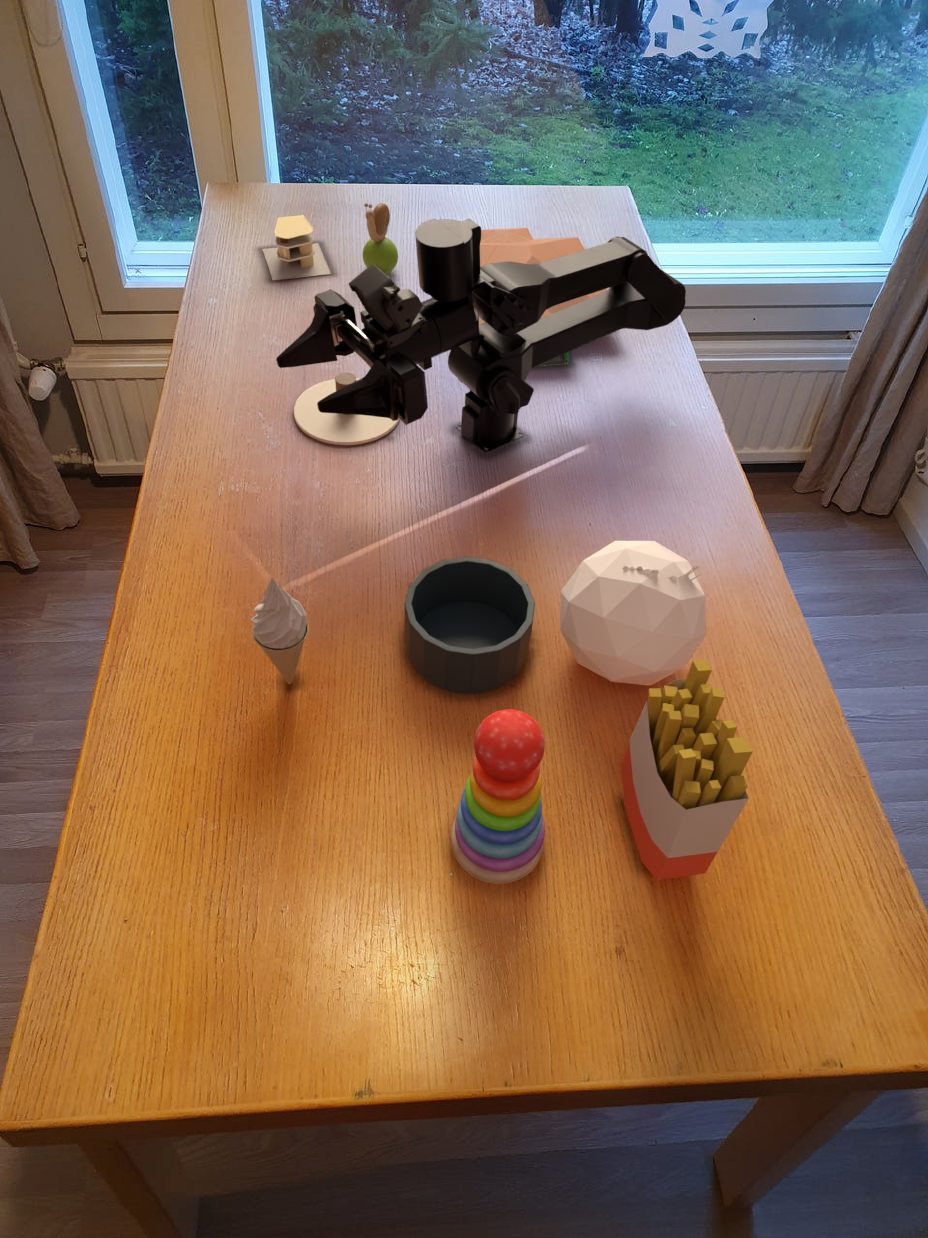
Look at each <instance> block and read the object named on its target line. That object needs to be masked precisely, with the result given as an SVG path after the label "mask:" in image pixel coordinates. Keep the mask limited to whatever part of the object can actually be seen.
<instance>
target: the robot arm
mask: <svg viewBox="0 0 928 1238" xmlns="http://www.w3.org/2000/svg"><path fill="white" fill-rule="evenodd" d="M481 230H482V227H481V226H480V225H479V224H478V223H476V222H475V221H473V220H472V219H471V218H467V219H464V220H462V221H461V220H456V219H451V218H442V219H437V218H431V219H427V220H425V221H424V222H422V223H420V225H418V226H417V228H416V229H415V232H414V235H415V246H416V258H417V269H418V270H417V273H418V283H419V284H418V285H419V288H420V289H421V291H422V292H424V293H425V294H426V295H428V296H430V297H431V298H429V299H426V300H423V301H421V299H420V298H419V296H418V295H417V294H416V293H415V292H413V291H412V290H411V289H410V288H405V289H401V288H400V286H399V285H397V284H396V283H395V282H394V281H393V279H392V278H391V277H390V276H389V275H388V274H385V273H384V272H382V271H381V270H380V269H379V268H378V267H376V266H375V265H374V264H372V265H370V266H369V267H368V268H367V267H366V268H365V269H363V271H362V272H360V273H359V274H358V275H357V276H355V277H354V278H353V279H352V280H351V281H350V282H348V286H349V288H350V290H351V292H354V293H355V295H356V296H357V298H358V300H359V301H360V303H361V305H362V307H363V308H364V310H362V311H360V312H359V314H360V315H359V316H360V321H361V323H362V324H363V328H361V329H360V328H359V327H358V323H357V316H356V311H355V307H354V306H353V305H352V304H351V303H350V302H349V301H348V300H346V298H345V297H343V296H342V295H341V294H340V293H338V292H337V291H335V290H333V289H328V290H325V291H322V292H320V293H316V294H315V295H314V303H315V304H314V305H313V318H312V321H311V323H310V324H309V326H308V327H307V328H306V329H305V331H304V332H303V333H302V334H300V335H299V336H298V337H297V338H296V339H295V340H294V341H293V342H292V343H291V344H290V345H289V346H288V347H286V348H285V349H284V350H283V351H282V352H280V354H279V355H277V356H276V359H275V361H276V366H277V367H278V368H280V369H283V368H284V369H285V368H296V367H303V366H309V365H318V364H325V363H332V362H338V356H340V357H346V356H347V357H348V356H349V355H351V354H354V353H356V355H358V357H360V358H361V360H363V361H364V362H365V363H366V365H367V366H368V367H369V368H370V369H369V370H368V371H367V373H366V374H365V375H364V376H363V377H361V378H360V379H359V380H357V381H355V382H353V383H352V384H350V385H348V386H346V387H344V388H342V389H340V390H338V391H336V392H334V393H332V394H330V395H328V396H326V397H325V398H323V399H322V400H320V401H319V402H318V403H317V406H318V410H319V411H320V412H321V413H339V414H355V415H367V416H376V417H384V418H390V419H391V420H392V421H396V420H398V418H399V419H400V420H399V421H401V422H402V423H403V424H404V425H405V426H407V425H410V424H412V423H414V422H416V421H418V420H421V419H422V418H423V416H424V415H425V413H426V412H427V411H428V408H429V406H428V405H429V404H428V393H427V382H426V372H425V371H427V370H429V369H432V368H433V360H432V359H433V358H435V357H437V356H440V355H442V354H445V353H447V352H448V351H449V354H448V356H447V366H448V369H449V371H450V372H451V374H452V375H453V376H455V377H456V379H457V380H458V381H459V382H460V383H462V384H463V385H465V387H467V389H469V391H468V392H466V393H465V394H464V406H462V408H461V421H460V422H459V423H457V424H455V429H457V430H458V431H459V432H460V435H461V436H462V437H464V438H465V440H467V441H468V442H469V443H470V444H472V445H475V446H476V447H477V448H479V450H481V451H482V452H483V453H489V452H491V451H493V450H496V449H499V448H500V447H503V446H505V445H507V444H509V443H511V442H515V441H516V440H518V439H520V438H523V437H524V436H525V433H524V431H522V430H521V429H520V428H519V427H518V417H519V412H520V410H521V409H522V408H523V407H525V406H529V404H530V401H531V398H532V397H533V395H534V391H535V389H534V388H533V387H532V386H531V385H530V384H529V383H528V382H527V381H526V379H527V377H528V376H529V374H530V372H531V371H532V370H533V369H534V368H535V367H539V366H538V365H544V364H545V363H547V362H549V361H551V360H552V361H553V359H554V360H555V359H556V358H559V356H560V357H561V356H564V354H565V353H567V354H568V352H570V351H571V352H572V351H575V350H577V349H579V348H581V347H583V346H586V345H588V344H591V343H593V342H595V341H597V340H600V339H602V338H604V337H607V336H610V335H611V334H613V333H615V332H618V331H620V330H624V329H626V330H639V331H651V330H654V329H658V328H663V327H665V326H668V325H670V324H671V323H673V322H674V321H675V320H676V319H678V318H679V316H681V314H682V312H683V311H684V310H685V306H686V295H687V294H686V293H687V289H686V286H685V285H684V284H683V283H682V282H681V281H680V280H678V279H676V278H675V277H673V276H672V275H670V274H668V273H667V272H665V271H664V270H663V269H661V268H660V267H659V266H658V265H657V264H656V263H655V261H653V259H652V257H650V255H649V254H648V252H647V250H645V249H644V248H642V247H641V246H639V245H637V244H636V243H635V242H633V241H631V240H630V239H628V238H627V237H625V236H614V237H612V238H610V239H609V240H608V241H607V242H606V243H605V242H604V243H602V244H599V245H595V246H591V247H589V248H586V249H585V248H584V249H585V250H582V251H579V252H575V253H572V254H569V255H565V256H562V257H559V258H556V259H552V260H549V261H546V262H542V263H539V264H523V263H517V262H511V261H509V262H498V263H489V264H485V265H483V266H481V267H480V242H481ZM604 289H607V291H606V292H603V293H601V294H598V295H596V296H594V297H591V298H589V299H586V300H584V301H582V302H579V303H577V304H574V305H572V306H570V307H567V308H565V309H562V310H560V311H558V312H555V313H553V314H550V315H548V316H546V317H543V318H541V316H542V315H543V313H544V312H545V310H547V309H549V308H551V307H552V306H555V305H558V304H561V303H564V302H567V301H570V300H573V299H576V298H579V297H582V296H585V295H588V294H591V293H594V292H597V291H601V290H604ZM479 317H480V318H481V319H482V320H484V321H485V322H484V323H482V324H480V325H479ZM540 318H541V319H540ZM459 426H460V427H459ZM486 449H487V450H486Z"/></svg>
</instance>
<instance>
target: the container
mask: <svg viewBox="0 0 928 1238" xmlns="http://www.w3.org/2000/svg"><path fill="white" fill-rule="evenodd" d="M535 609H536V601H535V599H534V596H533V594H532V591H531V589H530V587H529V584H528V583H527V582H526V581H525V580H524V579H523V578H522V577H521V576H520V575H519V574H517V572H516V571H514V570H513V569H511V568H510V567H507V566H506V565H503V564H502V563H499V562H497V561H495V560H491V559H487V558H479V557H472V556H461V557H455V558H448V559H442V560H440V561H438V562H436V563H434V564H432V565H430V566H427V567H426V568H424V569H423V570H421V572H420V573H419V574H418V575H417V576H416V577H415V578H414V579H413V580H412V581H411V582H410V584H409V585H408V589H407V593H406V596H405V600H404V645H405V649H406V650H405V651H406V655H407V658H408V661H409V663H410V665H411V666H412V668H413V669H414V671H415V672H416V674H418V676H420V677H421V678H422V679H423V680H425V681H426V682H427V683H428V684H430V685H432V686H434V687H435V688H438V689H440V690H443V691H446V692H448V693H453V694H457V695H458V694H459V695H479V694H485V693H489V692H493V691H495V690H498V689H500V688H502V687H504V686H506V685H507V684H509V683H510V682H512V680H514V679H515V678H516V677H517V676H518V674H519V673H520V672H521V671H522V670H523V667H525V664H526V662H527V660H528V654H529V649H530V643H531V642H530V641H531V636H532V629H533V624H534V616H535Z"/></svg>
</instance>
